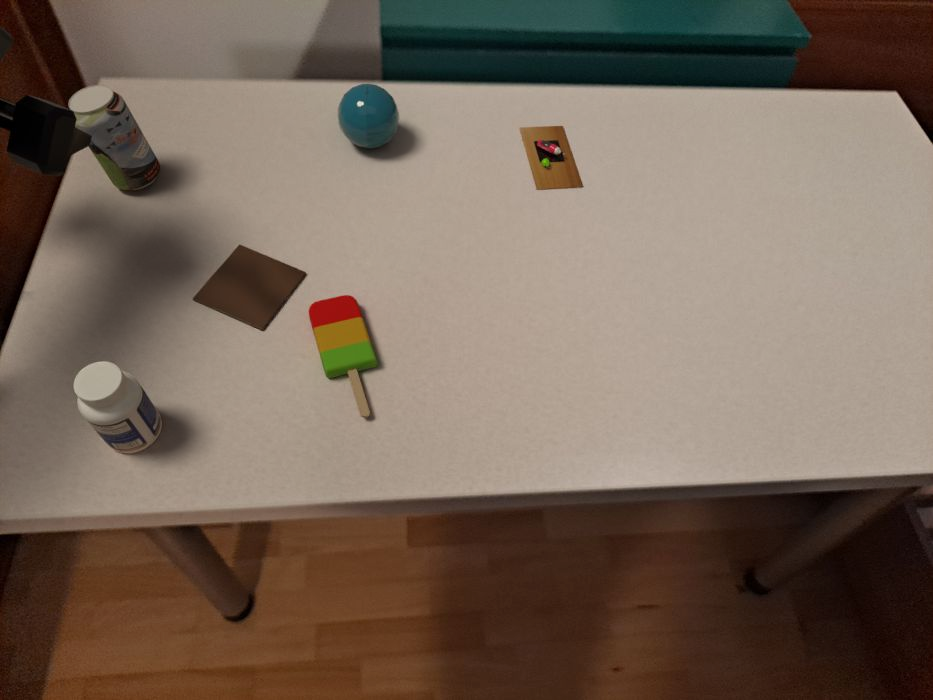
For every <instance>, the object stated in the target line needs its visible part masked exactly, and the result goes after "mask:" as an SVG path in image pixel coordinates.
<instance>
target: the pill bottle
mask: <svg viewBox="0 0 933 700" xmlns="http://www.w3.org/2000/svg"><path fill="white" fill-rule="evenodd" d="M73 391H74V393H75V394H76V396H77V400H76V402H77V408H78V411H79V413H80V415H81V416H82V417H83V418H84V419H85V420H86V422H87V423H88V424H89V426H90V427H92V429H93V430H94V431H95V432H96V433H97V434H98V436H99V437H100V438H101V439H102V440H103V441H104V443H105V444H106V445H108V446H109V448H111V449H112V450H113V451H115V452H118V453H122V454H133V453H138V452H141V451H143V450H145V449H147V448H148V447H150V446H151V445H153V443H154V442H155V441H156V440H157V439H158V437H159V435H160V434H161V431H162V427H163V420H162V416H161V414H160V413H159V411H158V409H157V407H156V406H155V405H154V403H153V402H152V401H151V398H150V397H149V395H148V394H147V392H146V390H145V389H144V388H143V386H142V385H141V383H140V382H139V380H138V379H137V378H136V377H135V376H133V374H130V373H129V372H127V371H124V370H121V368H120V367H119V366H118V365H117V364H115V363H113V362H111V361H96V362H93V363H92V362H91V363H89V364H88V365H86V366H84V367H83V368H82V369H80V370H79V372H78V373H77V374H76V376H75V378H74V380H73Z"/></svg>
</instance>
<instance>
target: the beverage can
mask: <svg viewBox="0 0 933 700" xmlns="http://www.w3.org/2000/svg"><path fill="white" fill-rule="evenodd" d="M68 109H70V110H72V111H73V112H74V114H75V116H76V118H77V120H76V124H75V127H76V128H78V129H80V130H82V131H84V132H86V133H88V134H90V135H91V136H92V139H91V143H90V145H89V146H88V147H87V148H89V150H90V151H91V153H92V155H93V156H94V157H95V159H96V161H97V163H98V164H99V165H100V166H101V168H102V170H103V171H104V173H105V174H106V176H107V177H108V179H109V180H110V182H111V183H112V185H113V186H114V187H116V189H119V190H123V191H136V190H137V191H138V190H141V189H144V188H146V187H148V186H149V185H151V184H152V183H154V181H155V180H156V178H157V177H158V176H159V174H160V172H161V163H160V161H159V160H158V158H157V156H156V154H155V152H154V151H153V149H152V147H151V145H150V144H149V142H148V139H147V138H146V136H145V135H144V133H143V131H142V130H141V127H140V125H139V124H138V122H137V120H136V119H135V117H134V115H133V113H132V112H131V109H130V108H129V106H128V104H127V103H126V101H125V99H124V98H123V96H122V95H120V94H119V93H118V92H116V91H114V90H113V89H112V88H111V86H108V85H105V84H92V85H88V86H85V87H83V88H81V89H80V90H77V91H76V92H75V93H74V94H72V95H71V97H70V98H69V100H68Z"/></svg>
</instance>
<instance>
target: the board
mask: <svg viewBox="0 0 933 700" xmlns="http://www.w3.org/2000/svg"><path fill="white" fill-rule="evenodd" d="M519 132H520V135H521V139H522V143H523V147H524V149H525V153H526V156H527V161H528V164H529V169H530V171H531V174H532V178H533V181H534V185H535V187H536V188H535V189H536V191H539V190H541V191H542V190H558V189H575V188H576V189H577V188H578V189H579V188H583V187H584V184H583V182H582V179H581V175H580V173H579V170H578V167H577V165H576V161H575V157H574V155H573V152H572V148H571V146H570V143H569V140H568V138H567V134H566V132H565V128H564V126H563V125H548V126H545V125H544V126H521V127H520V126H519Z"/></svg>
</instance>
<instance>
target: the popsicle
mask: <svg viewBox="0 0 933 700" xmlns="http://www.w3.org/2000/svg"><path fill="white" fill-rule="evenodd" d="M308 317H309V322H310V324H311V325H310V326H311V328H312V331H313V336H314V339H315V342H316V343H315V344H316V347H317V350H318V354H319V357H320V361H321V365H322V367H323V372H324V375H325V377H326V378H327V379H333V378H335V377H340V376H343V375H348V378H349V381H350V385H351V388H352V392H353V395H354V398H355V402H356V406H357V409H358V412H359V414H360V417H361V418H368V417H369V416H370V414H371V411H370V408H369V405H368V401H367V399H366V395H365V392H364V388H363V385H362V381H361V379H360V376H359V372H360V371H363V370H367V369H371V368H376V367H378V361H377V358H376V357H377V356H376V354H375V351H374V348H373V345H372V342H371V338H370V336H369V332H368V330H367V328H366V327H367V326H366V323H365V321H364V320H365V319H364V318H363V315H362V311H361V308H360V306H359V303H358V301H357V299H356V298H355V297H354V296H352V295H350V294H345V295H344V294H343V295H338V296H333V297H330V298H327V299H321V300H317V301H315V302H313V303H311V304H310V306H309V308H308Z"/></svg>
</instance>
